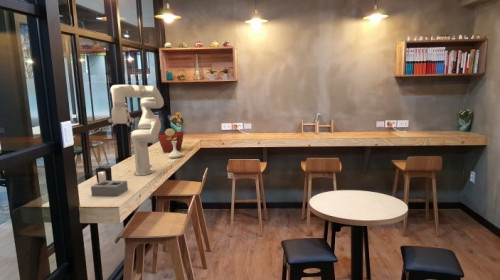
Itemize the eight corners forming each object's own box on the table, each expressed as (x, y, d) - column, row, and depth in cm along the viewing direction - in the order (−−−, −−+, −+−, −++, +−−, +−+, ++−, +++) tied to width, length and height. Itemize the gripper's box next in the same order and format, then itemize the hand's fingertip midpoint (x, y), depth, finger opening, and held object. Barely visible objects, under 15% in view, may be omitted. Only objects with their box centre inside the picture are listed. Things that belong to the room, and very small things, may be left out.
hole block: (103, 189, 210) (102, 180, 209) (127, 189, 207) (126, 180, 206) (91, 195, 198) (90, 186, 197) (117, 196, 196) (116, 187, 195)
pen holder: (108, 180, 228) (106, 166, 226) (115, 182, 222) (113, 168, 220) (94, 184, 221) (92, 169, 219) (101, 186, 215) (99, 171, 213)
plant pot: (165, 149, 325) (163, 131, 322) (184, 148, 324) (183, 131, 321) (159, 153, 306) (157, 135, 303) (180, 153, 305) (178, 134, 302)
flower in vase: (183, 155, 294) (181, 127, 289) (179, 158, 283) (177, 129, 278) (169, 155, 295) (166, 127, 291) (164, 159, 284) (162, 129, 280)
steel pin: (102, 188, 205) (100, 171, 203) (108, 188, 205) (106, 171, 203) (98, 191, 201) (96, 173, 200) (105, 191, 201) (103, 173, 199)
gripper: (135, 104, 214) (138, 131, 217) (110, 105, 217) (113, 131, 220) (129, 105, 207) (132, 133, 210) (103, 106, 210) (106, 133, 213)
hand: (122, 132), depth 215 cm, fingers open, 9 cm apart
